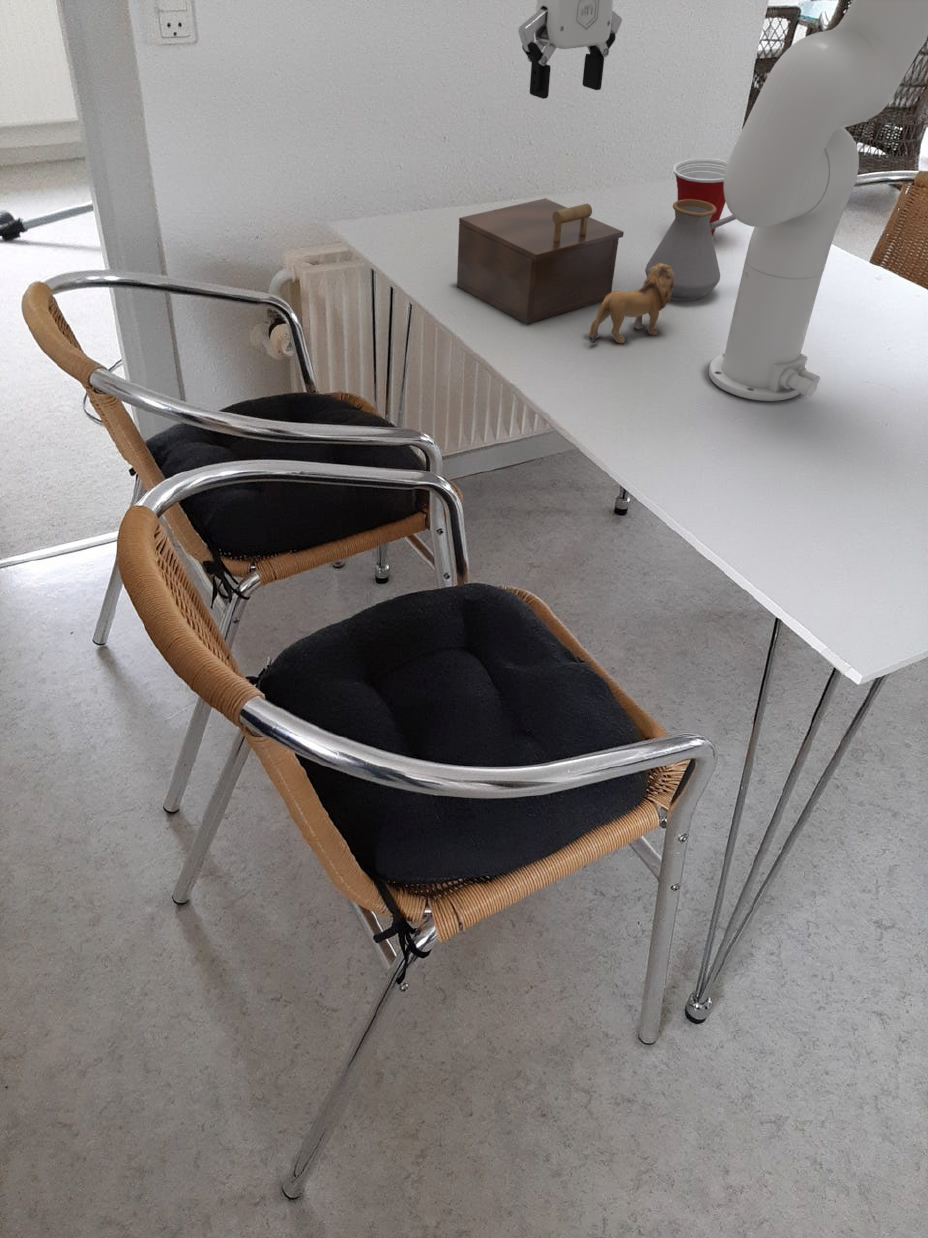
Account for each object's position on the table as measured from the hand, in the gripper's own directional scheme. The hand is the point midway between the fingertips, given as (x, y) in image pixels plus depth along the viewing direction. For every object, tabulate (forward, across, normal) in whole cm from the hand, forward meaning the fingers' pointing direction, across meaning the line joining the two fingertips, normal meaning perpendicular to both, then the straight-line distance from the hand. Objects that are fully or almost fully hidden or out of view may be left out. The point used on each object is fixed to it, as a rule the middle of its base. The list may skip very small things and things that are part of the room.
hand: (565, 91), depth 138 cm
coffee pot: (+28, +21, -14) cm, 38 cm away
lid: (+18, -3, -1) cm, 18 cm away
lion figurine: (+28, -1, -19) cm, 34 cm away
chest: (+28, -3, 0) cm, 28 cm away
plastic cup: (+28, +36, +3) cm, 45 cm away
